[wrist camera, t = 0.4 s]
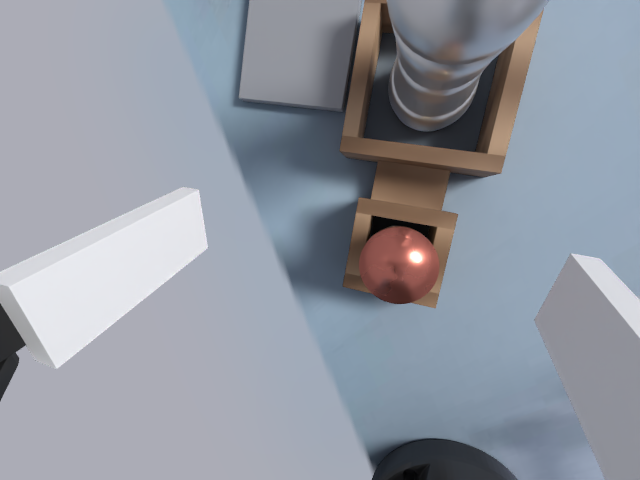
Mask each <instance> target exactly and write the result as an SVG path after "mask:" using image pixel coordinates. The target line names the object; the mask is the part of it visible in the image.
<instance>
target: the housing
mask: <svg viewBox="0 0 640 480" xmlns="http://www.w3.org/2000/svg"><path fill="white" fill-rule="evenodd" d="M543 10H544V9H543ZM543 10H542V12H541V13H540V15H539V16H538V17H537V18H536V19H535V20H534V21H533V22H532V23H531V24H530V26H529V27H528V28H527V29H526V30H525V31H524V32H523V33H522V34H521V35H520V36H519V37H518V38H517V39H516V40H515V41H514V42H513V43H511V44H510V45H509V46H508V47H507V48H506V49H505V50H503V51H502V52H501V53H500V54H499V56H498V60H497V64H496V68H495V72H494V76H493V81H492V85H491V89H490V93H489V97H488V101H487V105H486V109H485V114H484V118H483V122H482V126H481V130H480V134H479V138H478V142H477V147H476V151H475V152H470V151H462V150H454V149H446V148H438V147H430V146H422V145H414V144H406V143H398V142H390V141H382V140H374V139H367V138H364V133H365V127H366V122H367V116H368V110H369V105H370V99H371V94H372V88H373V83H374V77H375V72H376V66H377V61H378V55H379V49H380V44H381V38H382V33H394V31H393V27H392V23H391V19H390V16H389V11H388V6H387V0H365V2H364V8H363V14H362V20H361V26H360V32H359V38H358V44H357V50H356V56H355V62H354V67H353V73H352V79H351V85H350V91H349V97H348V103H347V109H346V115H345V121H344V127H343V133H342V139H341V145H340V152H341V153H342V154H343V155H344V156H345V157H347V158H352V159H359V160H366V161H373V162H378V164H377V169H376V174H375V179H374V185H373V190H372V195H371V199H368V198H360V197H359V199H358V205H357V210H356V216H355V221H354V227H353V232H352V238H351V243H350V248H349V254H348V259H347V265H346V270H345V276H344V281H343V287H346V288H350V289H355V290H359V291H363V292H368V293H371V292H370V291H369V290H368V289H367V287H366V286H365V284H364V283H363V281H362V278H361V275H360V271H359V259H360V255H361V252H362V250H363V248H364V246H365V244H366V243H367V241H368V240H369V239H370V234H371V229H372V223H373V218H374V216H379V217H384V218H390V219H395V220H401V221H407V222H412V223H418V224H423V225H429V231H428V235H427V239H428V240H429V241H430V242H431V244H432V245H433V246H434V248H435V250H436V252H437V254H438V258H439V275H438V278H437V281H436V283H435V285H434V286H433V288H432V289H431V290H430V291H429V293H427V294H426V295H425V296H424V297H422V298H421V299H419V300H417V301H414V302H411V303H415V304H419V305H423V306H428V307H432V308H436V304H437V300H438V296H439V292H440V288H441V284H442V279H443V275H444V271H445V267H446V263H447V259H448V255H449V250H450V246H451V242H452V238H453V234H454V230H455V226H456V221H457V217H458V214H456V213H451V212H446V211H441V210H442V206H443V202H444V197H445V193H446V189H447V184H448V180H449V176H450V172H451V173H458V174H465V175H472V176H479V177H488V176H492V175H496V174H500V173H501V172H502V168H503V164H504V160H505V156H506V152H507V149H508V145H509V141H510V137H511V133H512V129H513V125H514V122H515V118H516V114H517V110H518V106H519V102H520V98H521V95H522V91H523V87H524V83H525V79H526V75H527V71H528V68H529V64H530V60H531V56H532V52H533V48H534V45H535V41H536V37H537V33H538V29H539V25H540V21H541V18H542V14H543Z"/></svg>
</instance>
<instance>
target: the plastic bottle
mask: <svg viewBox="0 0 640 480" xmlns="http://www.w3.org/2000/svg"><path fill="white" fill-rule="evenodd" d="M548 2H549V0H387V6H388V11H389V16H390V19H391V23H392V27H393V31H394V34H395V38H396V47H397V57H396V60H395V62H394V65H393V67H392V70H391V74H390V78H389V84H388V94H389V100H390V103H391V106H392V108H393V110H394V112H395V113H396V115H397V116H398V118H399V119H400V120H401V121H402V122H403V123H404V124H405V125H407V126H408V127H410V128H412V129H415V130H418V131H424V132H425V131H435V130H439V129H442V128H444V127H446V126H448V125H451V124H452V123H454V122H455V121H456V120H458V119H459V118H460V117H461V116H462V115H463V114H464V113H465V112H466V111H467V109H468V108H469V106H470V105H471V103H472V100H473V98H474V96H475V93H476V90H477V87H478V83H479V78H480V76H481V74H482V72H483V71H484V69H485V68H486V67H487V66H488V65H489V64H490V62H491V61H492V60H493V59H494V58H495V57H497V56H498V55H499V54H500V53H501V52H502V51H503V50H505V49H506V48H507V47H508V46H509V45H510V44H511V43H513V42H514V41H515V40H516V39H517V38H518V37H519V36H520V35H521V34H522V33H523V32H524V31H525V30H526V29H527V28H528V27H529V26H530V24H531V23H532V22H533V21H534V20H535V19H536V18H537V17H538V16H539V15H540V13H541V12H542V10H543V9H544V7H545V6H546V4H547V3H548Z"/></svg>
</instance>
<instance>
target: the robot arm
mask: <svg viewBox="0 0 640 480" xmlns="http://www.w3.org/2000/svg"><path fill="white" fill-rule="evenodd" d="M203 220H204V219H203V213H202V207H201V200H200V194H199V190H197V189H192V188H186V187H181V188H179V189H177V190H175V191H173V192H171V193H169V194H167V195H164V196H162V197H160V198H158V199H156V200H153V201H151V202H149V203H147V204H145V205H143V206H141V207H138V208H137V209H134V210H132V211H130V212H128V213H126V214H123V215H121V216H119V217H117V218H115V219H113V220H110V221H108V222H106V223H104V224H102V225H100V226H98V227H95V228H93V229H91V230H89V231H87V232H85V233H83V234H80V235H78V236H76V237H74V238H72V239H70V240H68V241H65V242H63V243H61V244H59V245H57V246H55V247H52V248H50V249H48V250H46V251H44V252H42V253H40V254H37V255H35V256H33V257H31V258H29V259H27V260H24V261H22V262H20V263H18V264H16V265H14V266H12V267H10V268H7V269H5V270H3V271H1V272H0V400H1V398H2V396H3V394H4V392H5V390H6V388H7V386H8V384H9V382H10V380H11V378H12V376H13V374H14V372H15V370H16V368H17V366H18V363H19V357H18V356H17V354H16V353H15V352H16V351H18V350H19V349H21V348H22V347H24V346H25V345H26V347H27V348H28V350H29V351H30V353H31V355H32V356H33V358H34V359H35V361H37V362H40V363H42V364H45V365H48V366H50V367H53V368H56V369H57V368H59V367H60V366H61V365H62V364H63V363H64V362H66V361H67V360H69V359H70V358H71V357H72V356H74V355H75V354H76V353H77V352H78V351H80V350H81V349H82V348H84V347H85V346H86V345H87V344H88V343H90V342H91V341H92V340H94V339H95V338H96V337H97V336H99V335H100V334H101V333H102V332H103V331H105V330H106V329H107V328H108V327H110V326H111V325H112V324H113V323H115V322H116V321H117V320H118V319H120V318H121V317H122V316H123V315H125V314H126V313H127V312H128V311H130V310H131V309H132V308H133V307H135V306H136V305H137V304H138V303H140V302H141V301H142V300H143V299H145V298H146V297H147V296H148V295H149V294H151V293H152V292H153V291H155V290H156V289H157V288H158V287H159V286H161V285H162V284H163V283H165V282H166V281H167V280H168V279H170V278H171V277H172V276H173V275H175V274H176V273H177V272H178V271H179V270H181V269H182V268H183V267H185V266H186V265H187V264H188V263H190V262H191V261H192V260H193V259H194V258H196V257H197V256H198V255H200V254H201V253H202V252H203V251H205V250H206V249H207V248H208V245H207V239H206V232H205V226H204V221H203ZM534 321H535V323H536V325H537V328H538V330H539V332H540V334H541V337H542V339H543V341H544V343H545V346H546V348H547V350H548V352H549V355H550V357H551V359H552V361H553V363H554V366H555V368H556V370H557V372H558V375H559V377H560V379H561V381H562V384H563V386H564V388H565V390H566V393H567V395H568V397H569V399H570V402H571V404H572V406H573V408H574V411H575V413H576V415H577V417H578V420H579V422H580V424H581V426H582V428H583V431H584V433H585V435H586V437H587V440H588V442H589V444H590V446H591V449H592V451H593V453H594V455H595V458H596V460H597V462H598V464H599V467H600V469H601V471H602V473H603V476H604V478H605V480H640V300H639V299H638V298H637V297H636V296H635V295H634V294H633V293H632V291H631V290H630V289H629V288H628V287H627V286H626V285H625V284H624V283H623V282H622V281H621V280H620V279H619V278H618V277H617V276H616V275H615V274H614V273H613V272H612V270H611V269H610V268H609V267H608V266H607V265H606V264H605V263H604V262H603V261H602V260H601V259H600V258H594V257H588V256H583V255H577V254H570V256H569V257H568V259H567V261H566V263H565V265H564V266H563V268H562V270H561V272H560V274H559V276H558V277H557V279H556V281H555V283H554V285H553V286H552V288H551V290H550V292H549V294H548V296H547V297H546V299H545V301H544V303H543V305H542V307H541V308H540V310H539V312H538V314H537V316H536V317H535V319H534ZM372 480H517V478H516V477H515V476H514V475H513V474H512V473H511V472H510V471H509V470H508V469H507V468H506V467H505V466H504V465H503V464H501V463H500V462H499V461H497V460H496V459H494V458H493V457H491V456H490V455H488V454H486V453H485V452H483V451H481V450H479V449H476V448H474V447H471V446H468V445H466V444H462V443H458V442H454V441H448V440H422V441H416V442H412V443H409V444H406V445H404V446H401V447H399V448H398V449H396V450H394V451H393V452H391V453H390V454H389V455H387V456H386V457H385V458H384V459H383V460H382V462H381V463H380V464H379V466H378V467H377V469H376V471H375V473H374V475H373V478H372Z"/></svg>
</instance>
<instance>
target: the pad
mask: <svg viewBox="0 0 640 480" xmlns="http://www.w3.org/2000/svg"><path fill="white" fill-rule="evenodd" d="M361 3H362V0H249V9H248V18H247V27H246V36H245V46H244V55H243V64H242V73H241V82H240V91H239V98H240V99H241V100H243V101H247V102H256V103H265V104H274V105H283V106H292V107H302V108H311V109H320V110H329V111H338V112H343V110H344V104H345V98H346V92H347V87H348V81H349V75H350V69H351V63H352V57H353V51H354V45H355V39H356V33H357V27H358V21H359V15H360V9H361Z"/></svg>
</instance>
